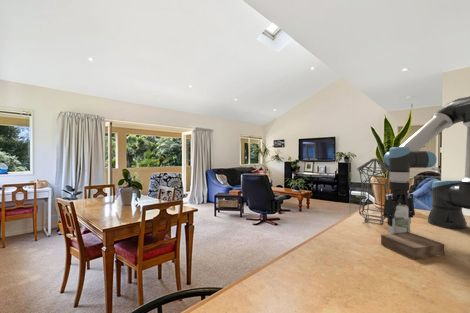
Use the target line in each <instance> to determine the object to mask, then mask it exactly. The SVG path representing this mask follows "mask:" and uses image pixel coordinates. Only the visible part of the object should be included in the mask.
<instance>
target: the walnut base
mask: <svg viewBox="0 0 470 313" xmlns="http://www.w3.org/2000/svg"><path fill="white" fill-rule="evenodd" d="M380 245H382V246H384V247H385V248H388V249H389V250H393V251H395V252H397V253H399V254H401V255H404V256H406V257H409V258H411V259H412V260H419V259H426V258H433V257H440V256H445V243H442V242H439V241H435V240H433V239H430V238H427V237H424V236H421V235H418V234H416V233H413V232H411V231H410V232H402V233H393V234H391V233H384V234H380Z"/></svg>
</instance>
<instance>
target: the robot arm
mask: <svg viewBox="0 0 470 313" xmlns="http://www.w3.org/2000/svg"><path fill="white" fill-rule="evenodd" d="M458 123H462V124H463V125H464V126H465V127H466V143H465V144H466V145H465V146H466V147H465V163H464V164H465V166H464V168H465V169H464V177H463V178H462V179H460V180H434V181H433V182H432V184H431V210H430V212H429V214H428V216H427V223H428V224H430V225H434V226H437V227H441V228H446V229H447V228H448V229H456V230H458V229H461V230H463V229H467V228H468V224H467V223H468V222H467V221H466V218H465V216H464V212H463V209H464V210H465V209H466V210H470V96H465V97H460V98H457V99H454V100H451V101H450V102H448V103H447V104H445V105H444V106H442V107H441V108H440V109H438V110H437V111H436V112H434V113H433V114H432V115H431V117H430V119H429V121H427V122H426V123H425V124H423V126H422V127H421V128H419V129H418V130H417V131H415V133H414V134H412V135H411V136H409V137H408V139H406V140H405V141H404V142H402V144H401V145H400V146H392V147H390V148H389V151H387V152H386V153H385V154H384V156H383V163H385V164H387V165H389V171H388V173H389V180H388V189H389V191H390V192H389V195H388V194H387V195H385V194H384V206H383V211H384V212H382V215H383V217H387V218H386V219H387V222H386V223H387V228H388V229H387V232H388V233H389V234H391V233H392V234H393V233H395V219H393V218H394V215H395V212H396V207H397V205H399V204H403V205H407V207H408V208H409V211H408V232H410V233H411V223H412V222H411V221H412V220H411V219H413V218H414V216H415V215H416V213H415V204H414V203H415V202H414V197H415V196H414V194H413V193H409V191H410V188H411V187H410V186H411V185H410V181H411V177H410V176H411V175H410V172H411V170H410V169H427V168H432V167H434V166H435V165H436V164H437V156H436V154H435V153H434V152H433V151H430V150H429V151H428V150H422V149H423V148H424V147H426V146H427V145H428V144H429V143H430V142H432V140H433V139H434V138H436V137H437V136H438V135H439V134H440V133H442V132H443V131H444V130H445V129H449V128H451V127H452V126H454V125H455V124H458Z"/></svg>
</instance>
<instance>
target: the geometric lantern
mask: <svg viewBox="0 0 470 313" xmlns="http://www.w3.org/2000/svg"><path fill="white" fill-rule="evenodd" d="M377 164H378V167H377ZM372 165H373V167H372ZM379 169H380V170H379ZM356 170H357V171H358V172H359V177H360V183H361V187H360V195H359V197H360V198H359V199H360V200H359V209H358V214H359V215H360V216H361V217H362V218H364V222H365V223H370V224H375V225H383V224H384V221H385V219H387V217H384V216H383V212H384V210H383V196H382V195H383V194H382V193H383V192H384V196H385V195H389V194H390V189H389V181H390V180H389V165H387V164H386V163H385V162H384V161H382V160H379V159H378V158H377V157H375V158H371V159H370V160H369V161H366V162H365V163H364V164H362V165H360V166H359V167H357V168H356ZM365 171H366V172H365ZM370 172H371V173H372V174H369V173H370ZM385 172H388V175H387V178H385V176H384V175H383V173H385ZM362 175H363V176H364V178H365V180H362ZM366 175H367V177H366ZM379 175H381V176H382V178H383V179H384V180H385V181H382V180H379V179H378V177H377V176H379ZM369 177H370V178H369ZM372 177H374V178H375V180H374V182H378V183H373V185H375V186H376V185H378V186H380V187H379V188H380V191H379V192H380V210H378V209H370V208H369V205H370V185H372V183H371V179H372ZM383 183H384V184H383ZM367 185H368V189H367ZM382 186H383V188H384V190H382ZM367 190H368V191H367ZM366 191H367V192H366ZM366 193H367V208H365V204H366ZM361 207H362V208H361ZM361 209H362V210H361ZM366 211H367V212H366ZM369 211H373V212H379V213H380V215H374V214H373V215H372V214H369ZM378 218H379V219H378ZM368 220H372V221H377V222H372V221H368Z"/></svg>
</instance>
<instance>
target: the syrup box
mask: <svg viewBox="0 0 470 313" xmlns="http://www.w3.org/2000/svg"><path fill="white" fill-rule="evenodd" d="M408 211H409V208H408V207H407V205H403V204H401V203H399V205H397V207H396V212H395V215H394V218H393V219H395V233H402V232H408ZM390 234H392V233H390Z"/></svg>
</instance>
